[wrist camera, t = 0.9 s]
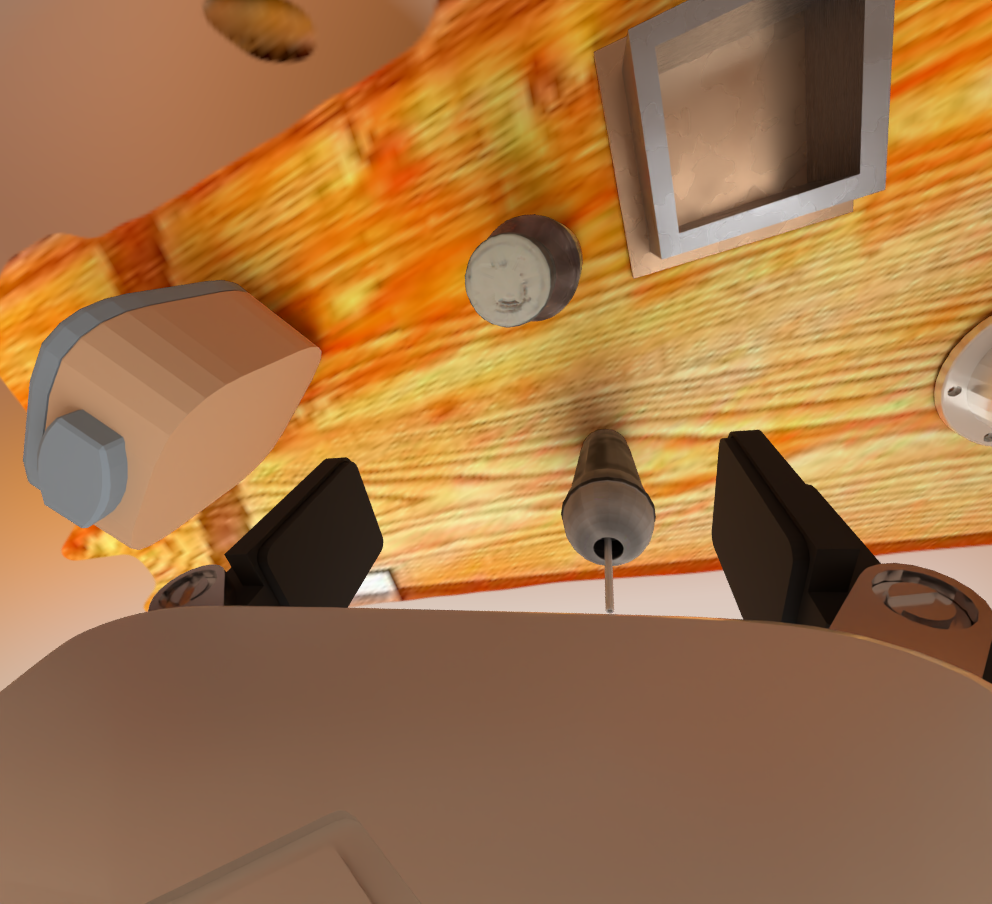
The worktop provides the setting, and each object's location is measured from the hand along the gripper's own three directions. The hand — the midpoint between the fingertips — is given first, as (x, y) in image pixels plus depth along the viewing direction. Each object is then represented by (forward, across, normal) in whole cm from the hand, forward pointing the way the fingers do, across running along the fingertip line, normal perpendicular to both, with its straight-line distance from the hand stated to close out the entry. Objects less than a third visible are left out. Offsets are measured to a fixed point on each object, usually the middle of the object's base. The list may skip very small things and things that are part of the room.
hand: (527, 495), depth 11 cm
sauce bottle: (+31, +1, -3) cm, 31 cm away
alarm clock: (+32, +34, +4) cm, 47 cm away
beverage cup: (+31, -3, +15) cm, 34 cm away
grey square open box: (+31, -12, -10) cm, 34 cm away
